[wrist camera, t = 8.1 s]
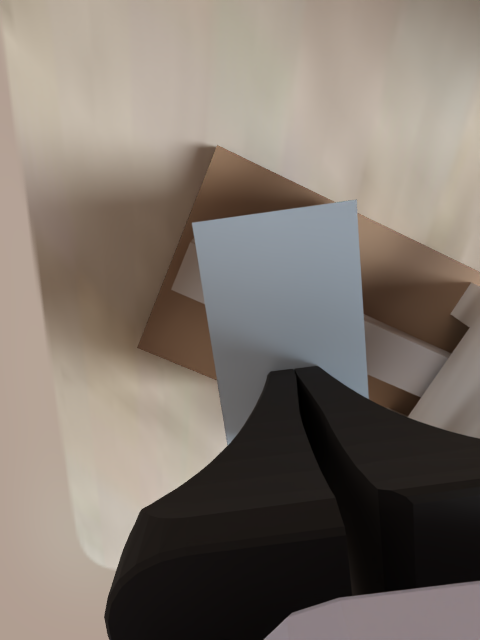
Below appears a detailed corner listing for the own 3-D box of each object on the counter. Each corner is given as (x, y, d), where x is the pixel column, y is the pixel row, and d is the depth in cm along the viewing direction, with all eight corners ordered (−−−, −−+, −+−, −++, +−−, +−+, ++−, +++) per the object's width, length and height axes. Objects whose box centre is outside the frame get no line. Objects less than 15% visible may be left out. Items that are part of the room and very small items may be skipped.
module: (343, 202, 15) (356, 199, 9) (358, 412, 17) (375, 514, 11) (238, 216, 16) (191, 222, 10) (264, 414, 18) (238, 511, 12)
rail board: (571, 316, 18) (758, 399, 11) (453, 467, 21) (548, 602, 14) (219, 146, 16) (197, 126, 9) (142, 338, 19) (85, 427, 12)
